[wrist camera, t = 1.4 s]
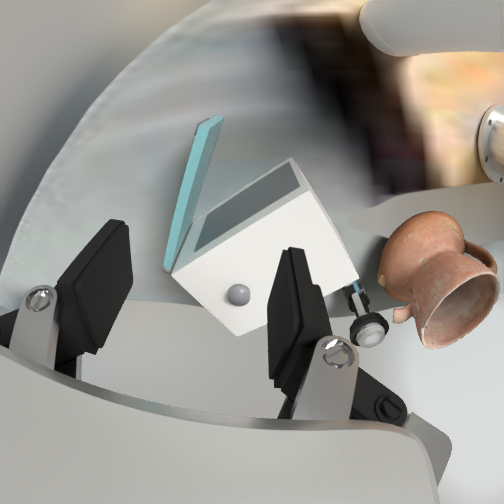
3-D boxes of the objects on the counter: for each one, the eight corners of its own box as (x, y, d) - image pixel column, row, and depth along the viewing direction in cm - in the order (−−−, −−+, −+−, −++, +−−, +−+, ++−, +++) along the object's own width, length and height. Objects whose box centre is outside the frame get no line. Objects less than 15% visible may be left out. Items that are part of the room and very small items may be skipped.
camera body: (291, 155, 29) (310, 193, 19) (332, 223, 33) (362, 283, 23) (184, 226, 34) (156, 287, 24) (232, 279, 38) (225, 347, 28)
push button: (327, 278, 38) (343, 331, 29) (360, 262, 36) (384, 312, 28) (343, 306, 41) (358, 357, 32) (373, 291, 39) (394, 340, 31)
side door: (212, 113, 25) (192, 123, 17) (224, 117, 26) (209, 128, 18) (180, 222, 32) (156, 269, 24) (190, 225, 33) (169, 273, 25)
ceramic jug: (367, 298, 40) (397, 373, 28) (359, 219, 32) (409, 295, 21) (456, 266, 37) (498, 324, 25) (464, 190, 29) (528, 242, 18)
